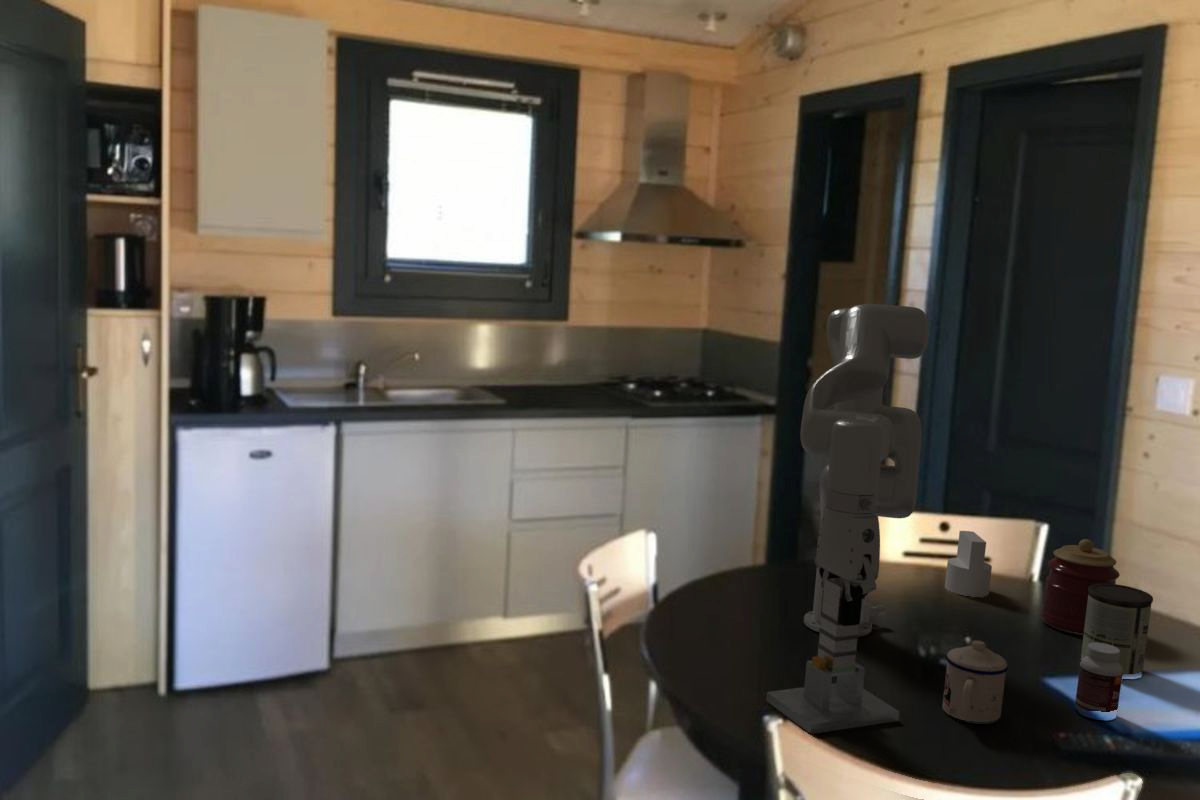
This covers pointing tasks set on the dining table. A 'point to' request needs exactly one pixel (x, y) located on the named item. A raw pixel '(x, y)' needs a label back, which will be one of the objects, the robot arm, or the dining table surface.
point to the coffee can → (1118, 622)
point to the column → (836, 631)
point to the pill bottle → (1099, 679)
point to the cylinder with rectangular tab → (969, 567)
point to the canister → (1074, 583)
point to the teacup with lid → (974, 683)
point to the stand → (831, 701)
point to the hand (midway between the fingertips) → (840, 618)
